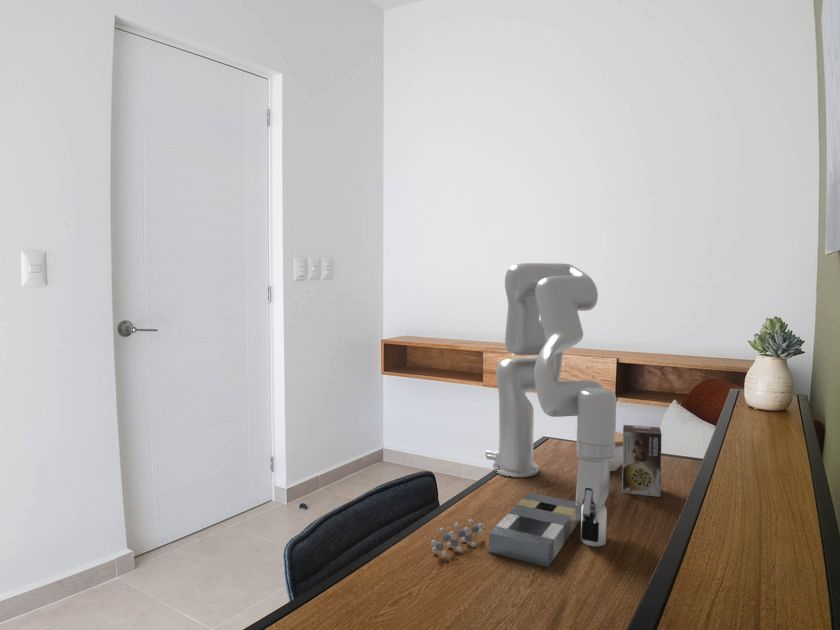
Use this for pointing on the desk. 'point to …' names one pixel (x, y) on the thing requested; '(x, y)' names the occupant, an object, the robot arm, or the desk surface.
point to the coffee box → (641, 460)
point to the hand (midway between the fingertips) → (593, 533)
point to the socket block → (535, 529)
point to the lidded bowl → (617, 452)
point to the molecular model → (455, 540)
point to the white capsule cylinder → (602, 526)
